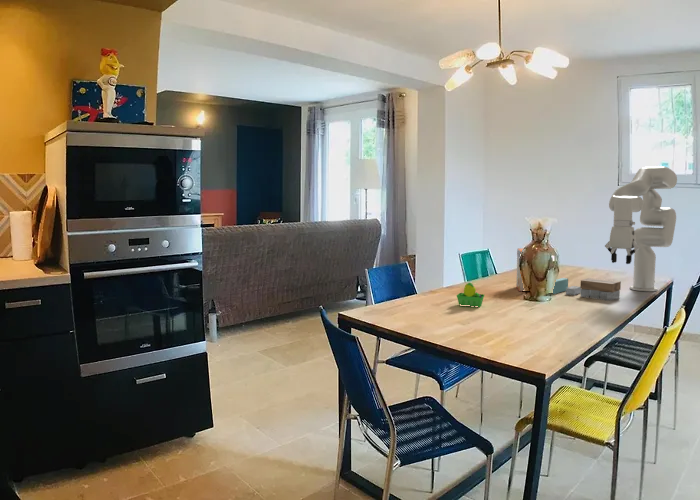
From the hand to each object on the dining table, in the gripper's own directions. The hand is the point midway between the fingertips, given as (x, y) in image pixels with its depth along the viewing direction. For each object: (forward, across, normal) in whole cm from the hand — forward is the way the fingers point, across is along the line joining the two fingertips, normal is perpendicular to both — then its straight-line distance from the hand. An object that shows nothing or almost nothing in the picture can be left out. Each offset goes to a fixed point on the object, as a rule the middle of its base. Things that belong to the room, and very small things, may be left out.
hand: (621, 262), depth 251 cm
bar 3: (+18, +10, 0) cm, 20 cm away
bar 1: (+18, +22, 0) cm, 29 cm away
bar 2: (+18, +15, 0) cm, 23 cm away
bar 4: (+18, +5, 0) cm, 18 cm away
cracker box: (+18, +46, +8) cm, 50 cm away
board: (+14, +9, 0) cm, 16 cm away
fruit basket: (+18, +40, +59) cm, 74 cm away
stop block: (+18, +30, +1) cm, 35 cm away
